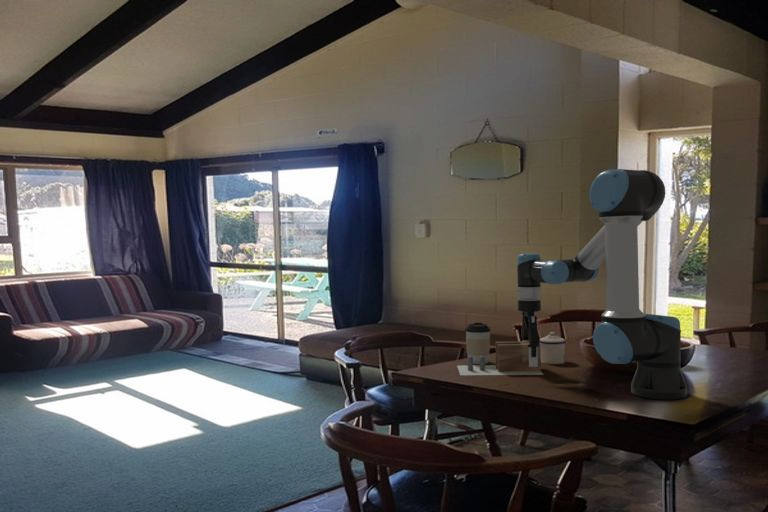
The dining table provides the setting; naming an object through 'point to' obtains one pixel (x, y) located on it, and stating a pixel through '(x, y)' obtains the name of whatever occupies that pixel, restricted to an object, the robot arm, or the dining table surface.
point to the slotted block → (515, 357)
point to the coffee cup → (478, 341)
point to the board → (487, 369)
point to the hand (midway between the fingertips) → (529, 362)
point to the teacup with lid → (552, 349)
